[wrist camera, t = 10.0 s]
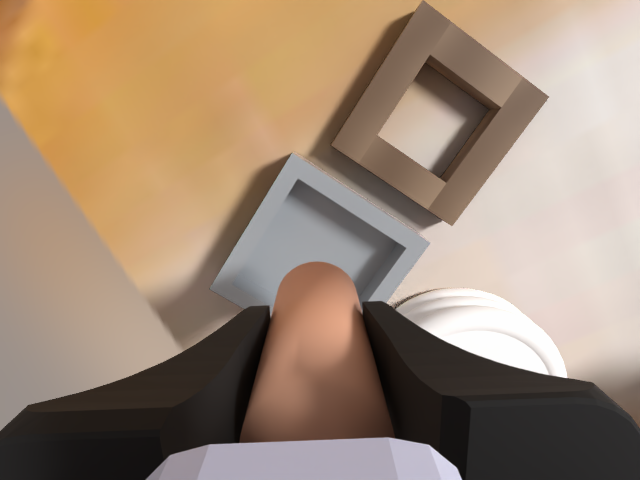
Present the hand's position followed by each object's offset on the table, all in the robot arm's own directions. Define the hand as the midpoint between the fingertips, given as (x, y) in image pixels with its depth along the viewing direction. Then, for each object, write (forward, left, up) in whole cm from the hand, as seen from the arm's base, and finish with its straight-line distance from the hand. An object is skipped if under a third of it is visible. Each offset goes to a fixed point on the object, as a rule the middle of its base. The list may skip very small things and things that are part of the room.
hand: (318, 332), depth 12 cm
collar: (-1, -9, -8) cm, 12 cm away
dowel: (0, 0, -2) cm, 2 cm away
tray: (0, 0, -8) cm, 8 cm away
